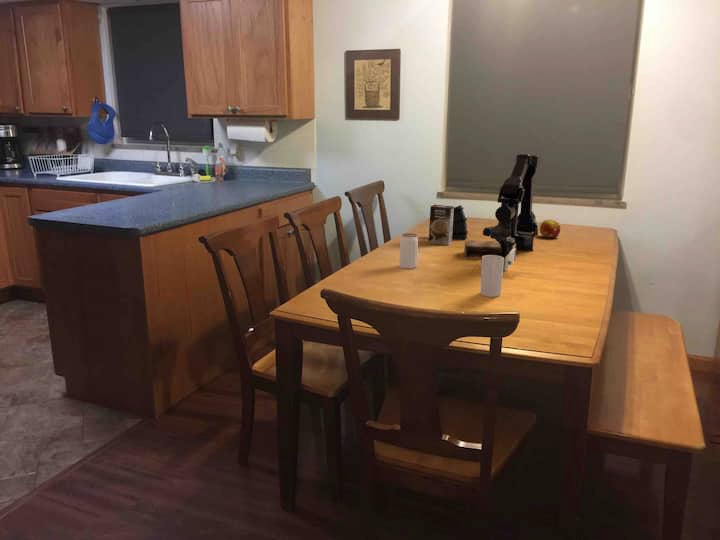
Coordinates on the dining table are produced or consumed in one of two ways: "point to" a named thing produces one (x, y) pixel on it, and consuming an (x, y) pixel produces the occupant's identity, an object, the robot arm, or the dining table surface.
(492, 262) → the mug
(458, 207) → the black piece
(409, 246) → the can
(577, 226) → the dining table surface
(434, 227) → the coffee box
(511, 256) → the door
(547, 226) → the fruit
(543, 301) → the dining table surface
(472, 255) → the walnut box
